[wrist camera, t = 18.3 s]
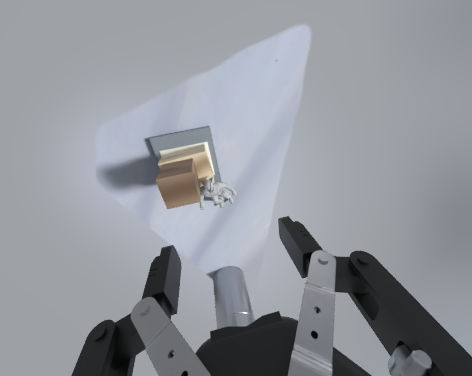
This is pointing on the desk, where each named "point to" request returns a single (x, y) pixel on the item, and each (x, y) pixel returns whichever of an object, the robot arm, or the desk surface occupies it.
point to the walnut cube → (179, 183)
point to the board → (187, 145)
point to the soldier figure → (216, 191)
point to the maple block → (198, 157)
